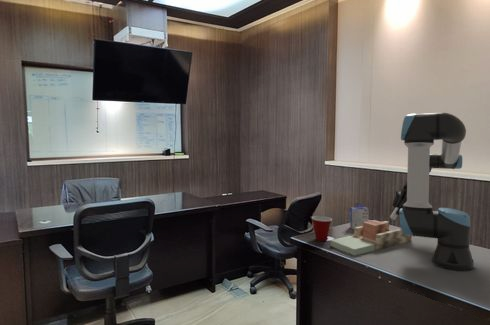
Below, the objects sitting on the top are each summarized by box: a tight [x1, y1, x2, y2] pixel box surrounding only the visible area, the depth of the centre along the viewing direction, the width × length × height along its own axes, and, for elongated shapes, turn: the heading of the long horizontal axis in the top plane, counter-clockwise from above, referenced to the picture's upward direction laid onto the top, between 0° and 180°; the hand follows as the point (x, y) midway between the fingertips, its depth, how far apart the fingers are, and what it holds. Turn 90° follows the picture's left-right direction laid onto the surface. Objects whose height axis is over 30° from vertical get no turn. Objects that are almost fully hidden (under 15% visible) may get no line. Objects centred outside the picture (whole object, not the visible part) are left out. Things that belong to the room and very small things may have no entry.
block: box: [363, 219, 386, 240], centre depth 175 cm, size 8×8×8 cm
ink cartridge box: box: [349, 203, 370, 230], centre depth 202 cm, size 10×6×14 cm, turn 89°
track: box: [351, 220, 413, 251], centre depth 178 cm, size 27×16×7 cm, turn 118°
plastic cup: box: [311, 215, 333, 242], centre depth 183 cm, size 11×11×12 cm
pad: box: [330, 235, 375, 257], centre depth 169 cm, size 13×16×3 cm
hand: (392, 218), depth 182 cm, fingers closed
